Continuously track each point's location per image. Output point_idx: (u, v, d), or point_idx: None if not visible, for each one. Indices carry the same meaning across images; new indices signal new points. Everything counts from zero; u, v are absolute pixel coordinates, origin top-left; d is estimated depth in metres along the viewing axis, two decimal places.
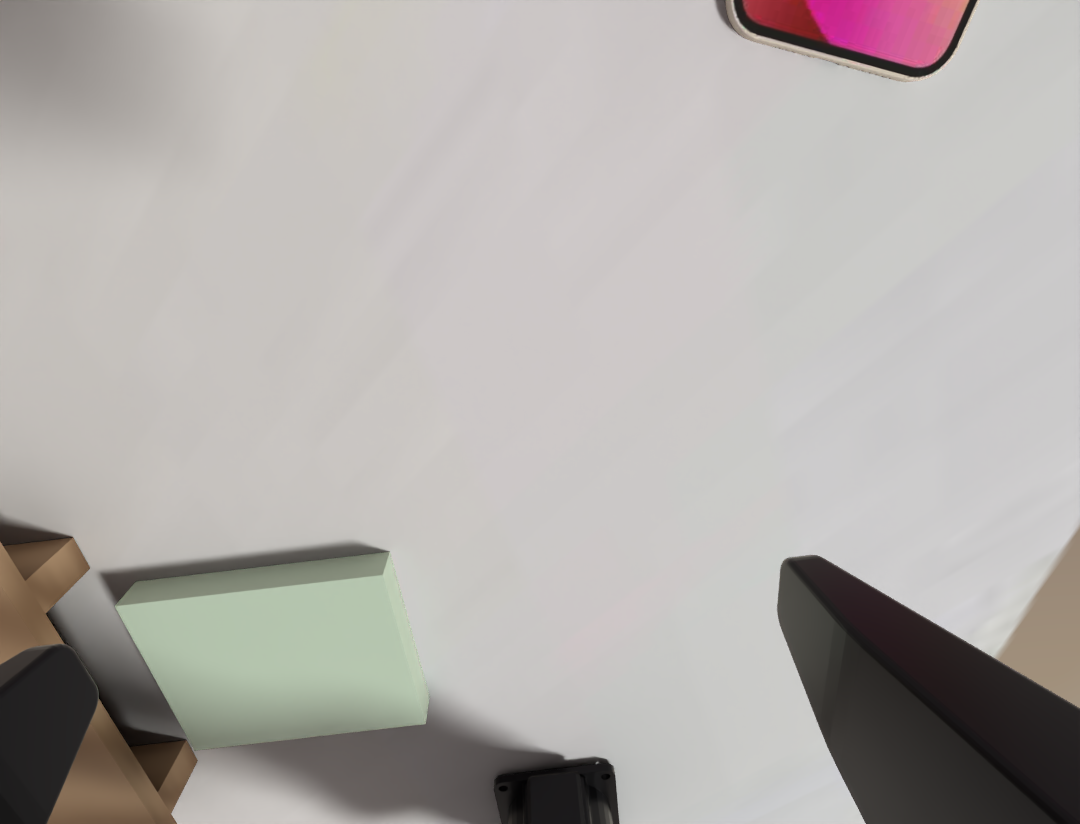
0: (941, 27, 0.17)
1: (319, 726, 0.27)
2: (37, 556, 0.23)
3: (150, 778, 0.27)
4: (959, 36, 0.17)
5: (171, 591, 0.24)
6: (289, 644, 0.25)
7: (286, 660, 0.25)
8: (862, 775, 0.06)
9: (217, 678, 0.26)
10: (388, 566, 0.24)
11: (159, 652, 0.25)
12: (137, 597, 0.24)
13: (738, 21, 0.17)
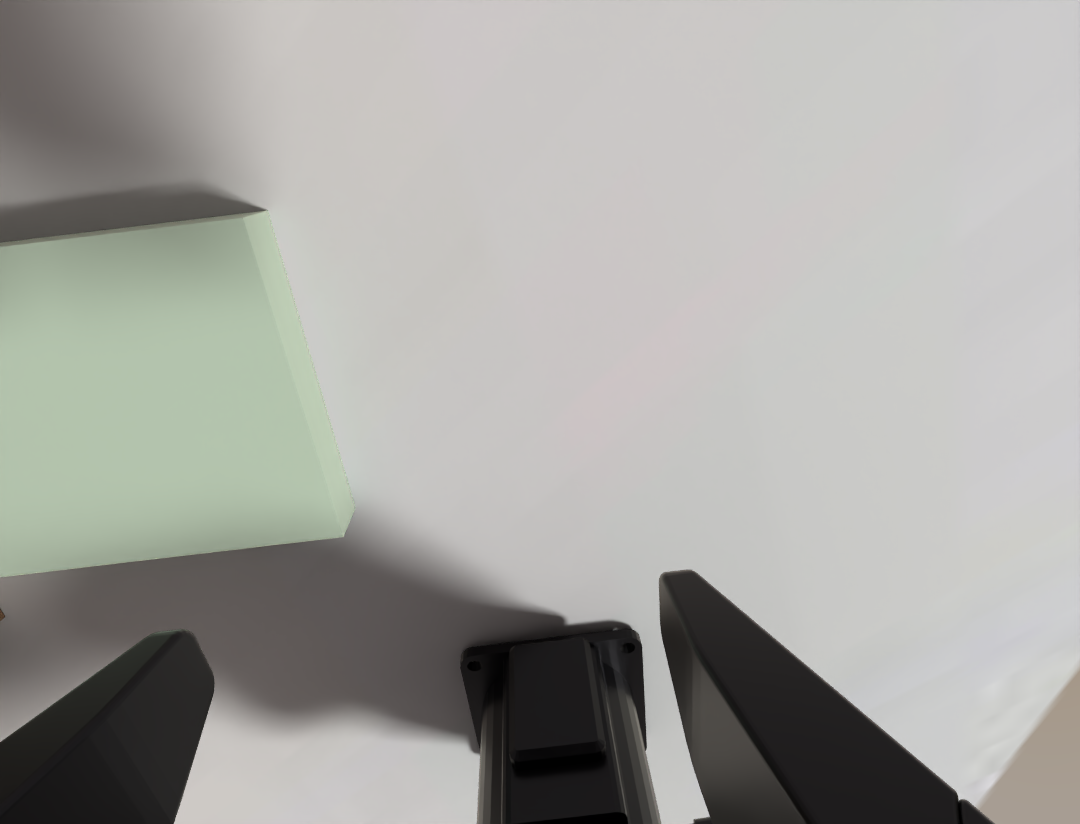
0: None
1: (170, 538, 0.17)
2: None
3: None
4: None
5: None
6: (95, 370, 0.15)
7: (96, 403, 0.15)
8: (712, 792, 0.06)
9: None
10: (261, 225, 0.14)
11: None
12: None
13: None
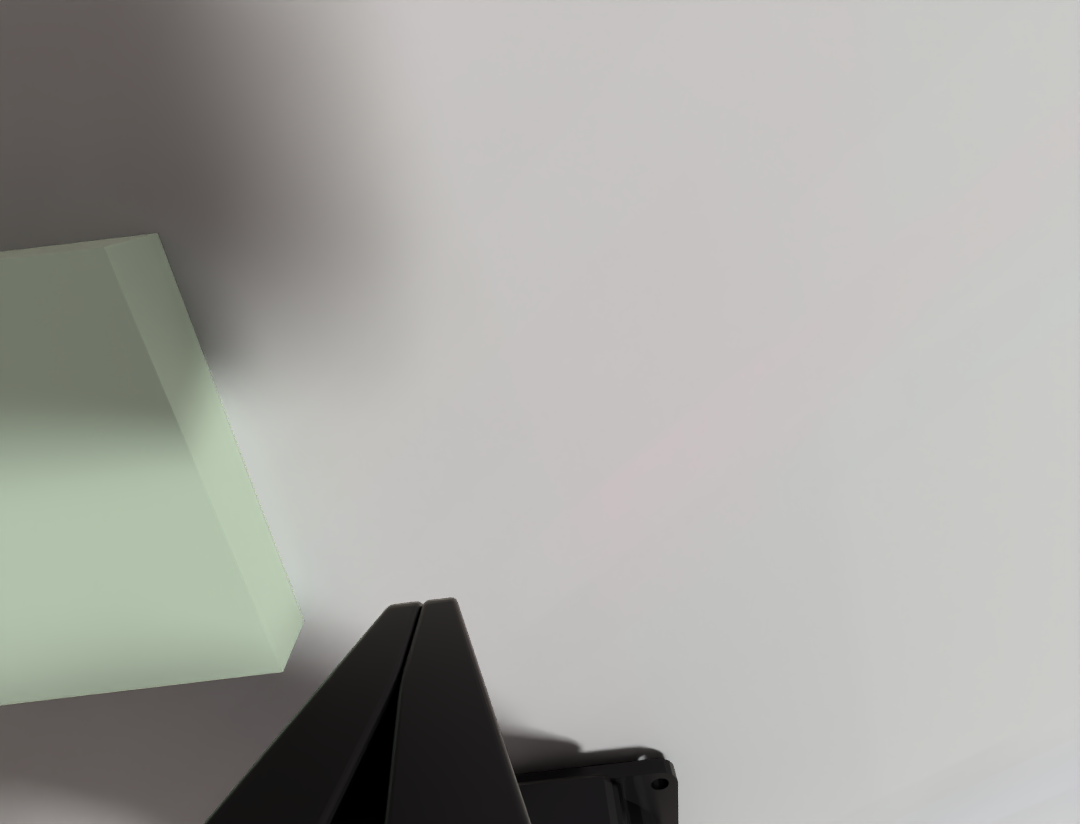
0: None
1: (45, 677, 0.12)
2: None
3: None
4: None
5: None
6: None
7: None
8: None
9: None
10: (143, 255, 0.10)
11: None
12: None
13: None
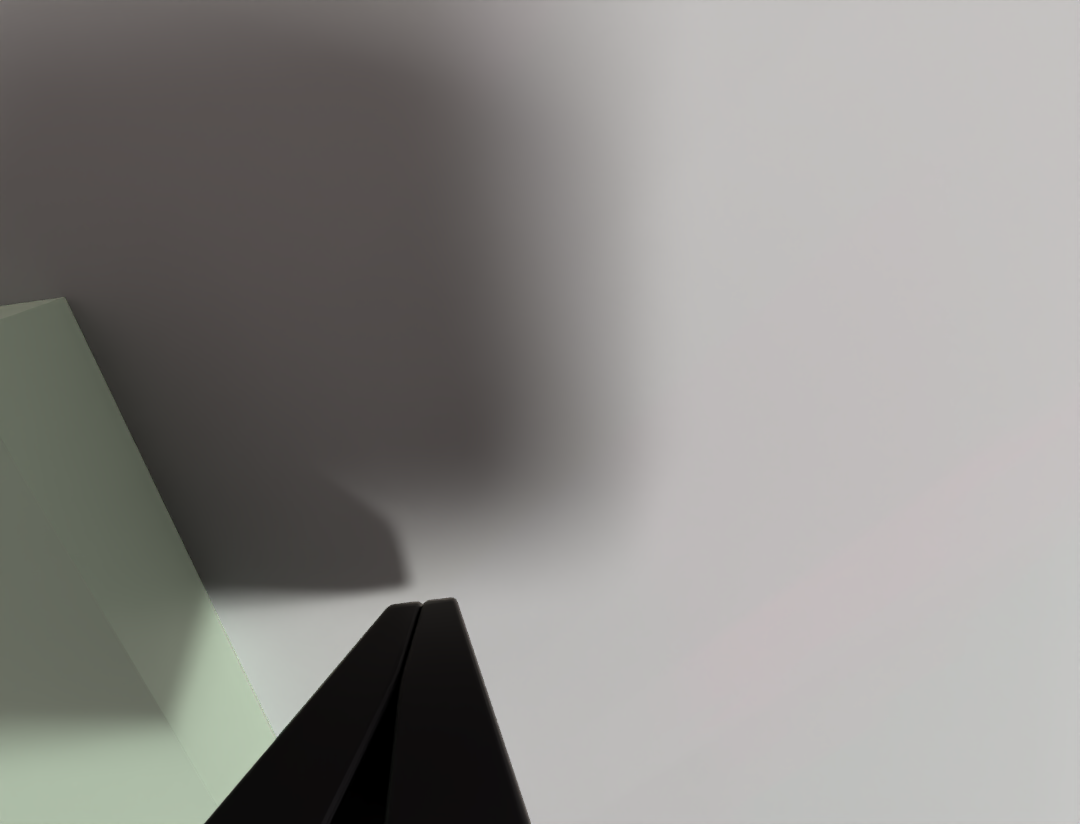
0: None
1: None
2: None
3: None
4: None
5: None
6: None
7: None
8: None
9: None
10: (33, 339, 0.06)
11: None
12: None
13: None
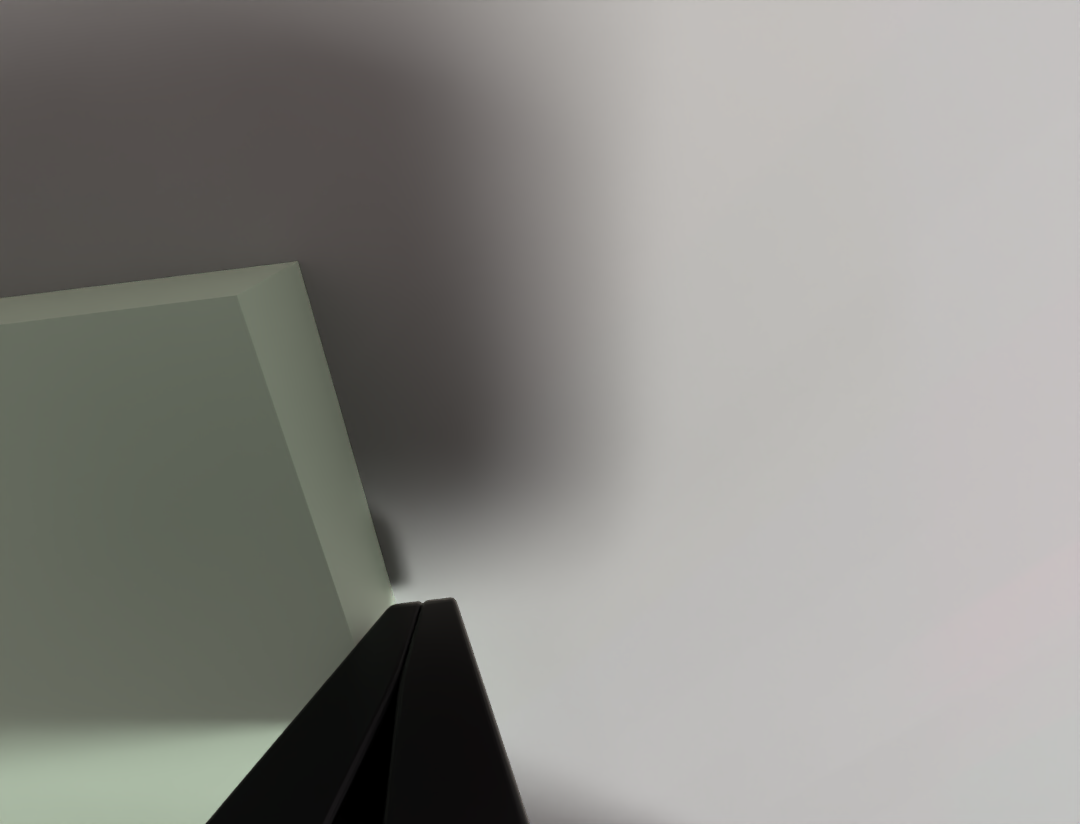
0: None
1: None
2: None
3: None
4: None
5: None
6: None
7: None
8: None
9: None
10: (281, 302, 0.06)
11: None
12: None
13: None
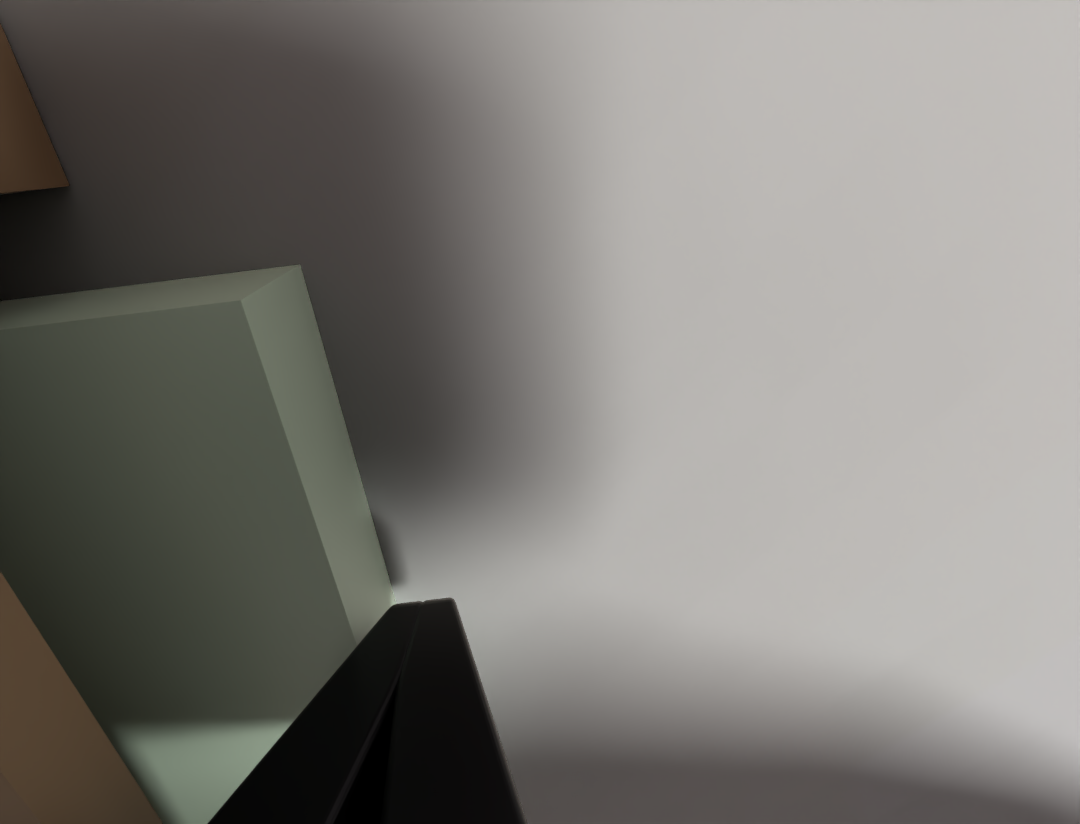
0: None
1: None
2: None
3: None
4: None
5: None
6: None
7: None
8: None
9: None
10: (285, 306, 0.06)
11: None
12: None
13: None
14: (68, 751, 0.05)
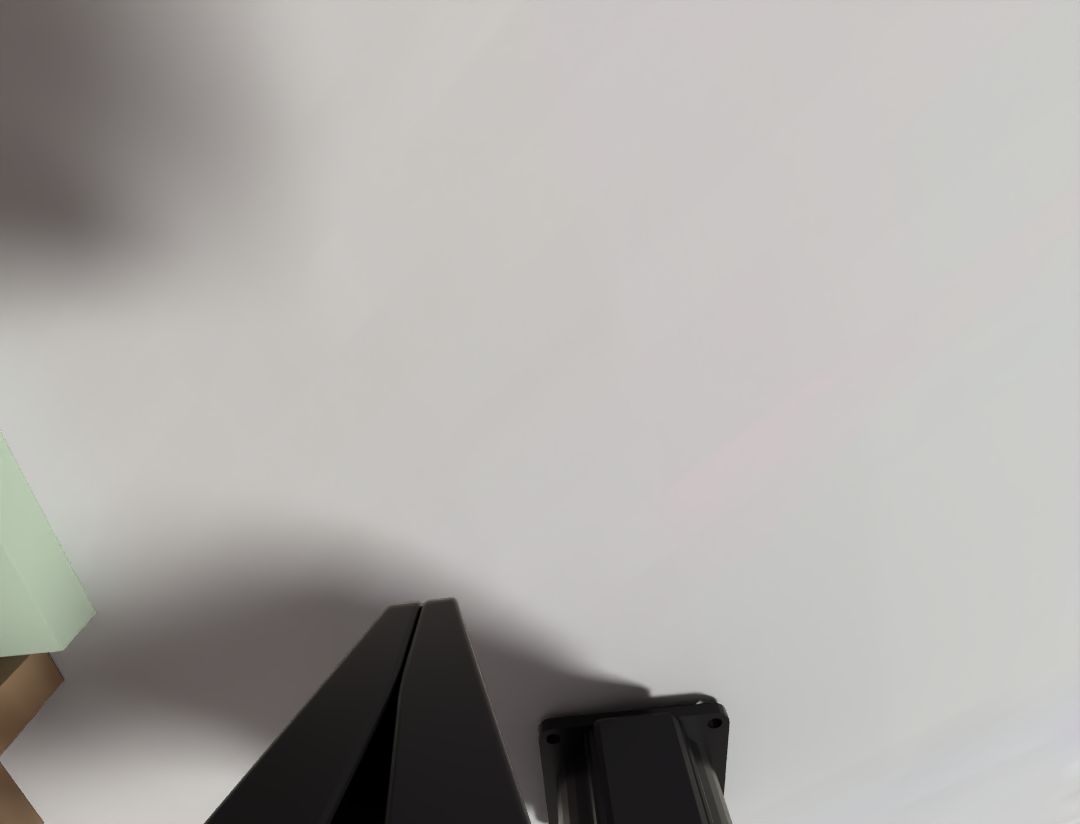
0: None
1: None
2: None
3: None
4: None
5: None
6: None
7: None
8: None
9: None
10: None
11: None
12: None
13: None
14: None
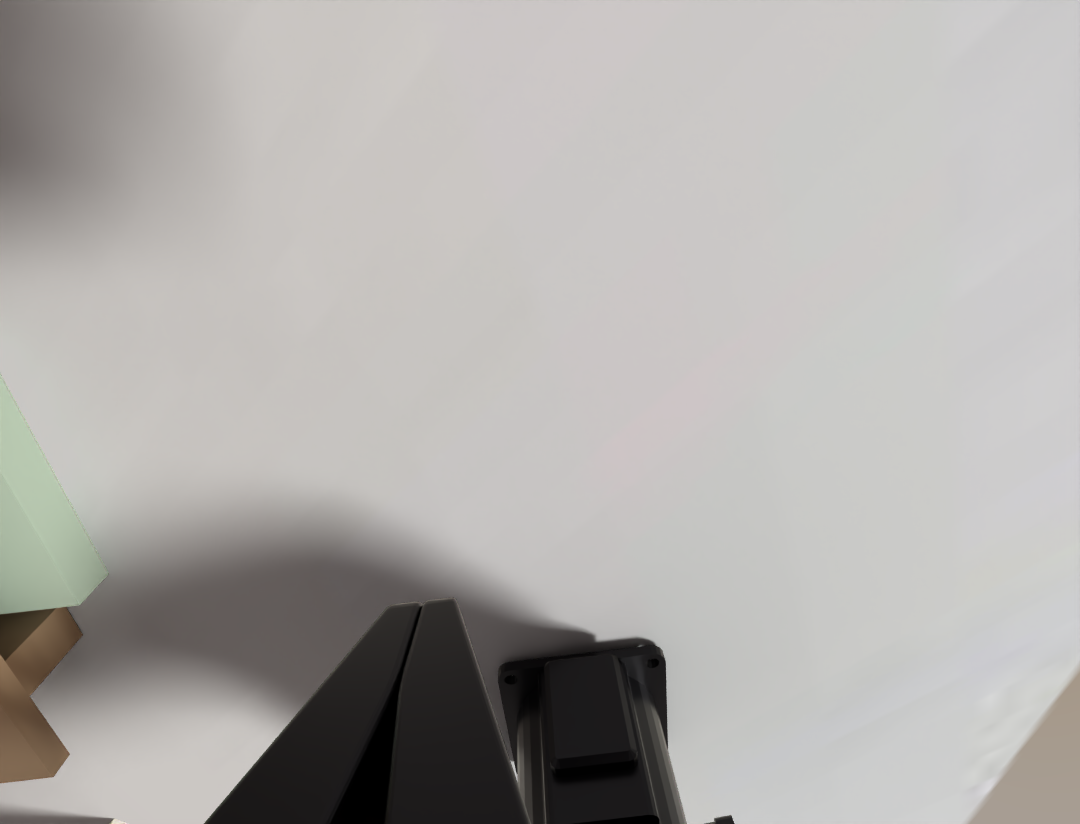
0: None
1: None
2: None
3: None
4: None
5: None
6: None
7: None
8: None
9: None
10: None
11: None
12: None
13: None
14: None
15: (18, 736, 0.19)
